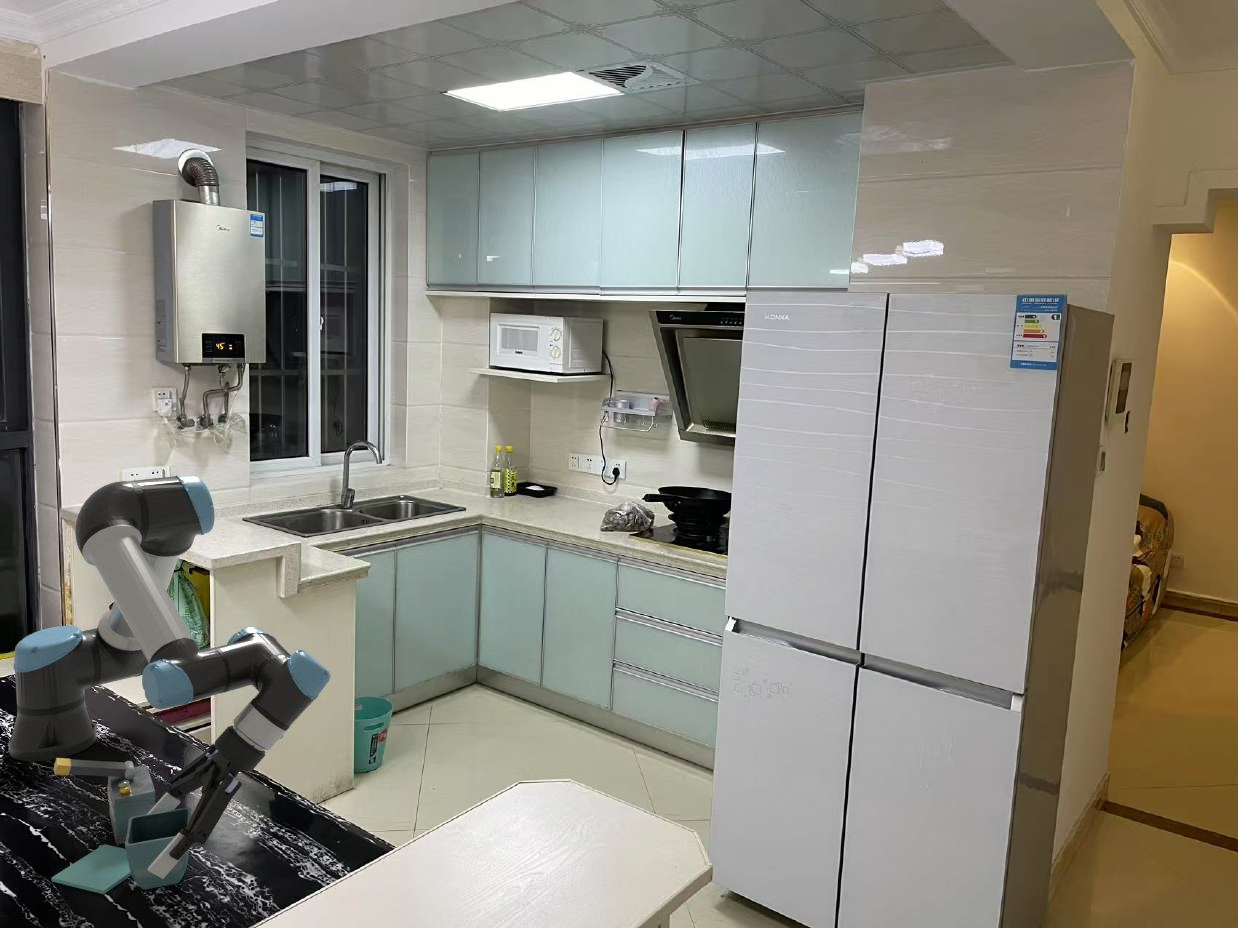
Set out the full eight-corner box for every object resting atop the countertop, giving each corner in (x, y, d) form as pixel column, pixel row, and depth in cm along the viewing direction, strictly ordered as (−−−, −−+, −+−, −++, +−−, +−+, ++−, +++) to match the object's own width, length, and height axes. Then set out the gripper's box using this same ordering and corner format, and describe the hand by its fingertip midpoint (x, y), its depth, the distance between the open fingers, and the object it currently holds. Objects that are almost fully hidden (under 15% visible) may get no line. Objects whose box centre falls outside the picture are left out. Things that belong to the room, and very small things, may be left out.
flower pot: (126, 901, 138) (124, 845, 137) (131, 869, 146) (129, 816, 145) (191, 888, 141) (189, 834, 140) (192, 858, 149) (191, 806, 148)
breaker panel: (148, 806, 165) (146, 760, 163) (156, 835, 156) (154, 786, 154) (108, 815, 161) (106, 768, 160) (115, 845, 152) (112, 795, 151)
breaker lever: (134, 761, 161) (56, 756, 155) (136, 770, 158) (57, 766, 151) (131, 770, 161) (53, 765, 155) (134, 779, 158) (54, 775, 151)
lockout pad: (104, 847, 152) (104, 844, 152) (154, 859, 149) (154, 855, 149) (51, 881, 142) (51, 877, 142) (103, 894, 139) (103, 890, 139)
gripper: (286, 781, 140) (181, 904, 134) (249, 722, 160) (156, 826, 154) (249, 756, 136) (139, 881, 130) (215, 698, 157) (119, 804, 150)
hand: (148, 851), depth 142 cm, fingers open, 13 cm apart
